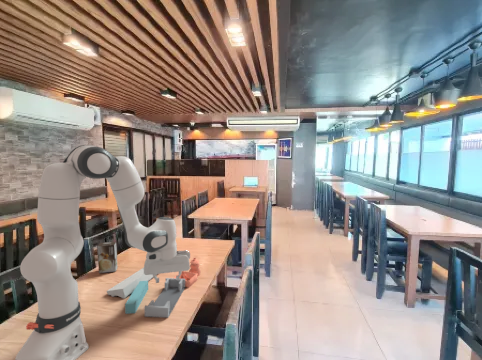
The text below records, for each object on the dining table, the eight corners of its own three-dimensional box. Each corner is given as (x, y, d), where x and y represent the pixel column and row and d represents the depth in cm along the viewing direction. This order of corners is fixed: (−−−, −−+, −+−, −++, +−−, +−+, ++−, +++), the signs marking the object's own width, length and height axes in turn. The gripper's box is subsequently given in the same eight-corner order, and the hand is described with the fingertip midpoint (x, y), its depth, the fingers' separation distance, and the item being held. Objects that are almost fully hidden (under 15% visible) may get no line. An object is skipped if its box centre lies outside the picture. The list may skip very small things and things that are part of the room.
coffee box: (118, 267, 151) (117, 241, 150) (115, 271, 145) (114, 244, 144) (101, 268, 149) (100, 242, 147) (98, 273, 142) (97, 246, 141)
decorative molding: (109, 300, 119) (125, 298, 116) (106, 291, 119) (122, 288, 116) (152, 270, 152) (166, 268, 149) (150, 262, 152) (164, 260, 149)
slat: (135, 315, 106) (134, 303, 105) (125, 315, 105) (125, 304, 105) (148, 290, 125) (148, 280, 125) (140, 290, 125) (139, 281, 125)
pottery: (188, 289, 127) (188, 270, 126) (172, 285, 130) (172, 267, 129) (205, 273, 144) (204, 257, 143) (190, 271, 147) (190, 255, 146)
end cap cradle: (168, 319, 102) (168, 307, 102) (144, 318, 103) (144, 306, 103) (185, 288, 127) (185, 278, 127) (166, 287, 128) (166, 277, 127)
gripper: (189, 247, 119) (190, 275, 120) (144, 251, 114) (145, 280, 115) (190, 252, 113) (191, 281, 114) (142, 256, 108) (143, 287, 109)
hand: (167, 281), depth 114 cm, fingers open, 8 cm apart
